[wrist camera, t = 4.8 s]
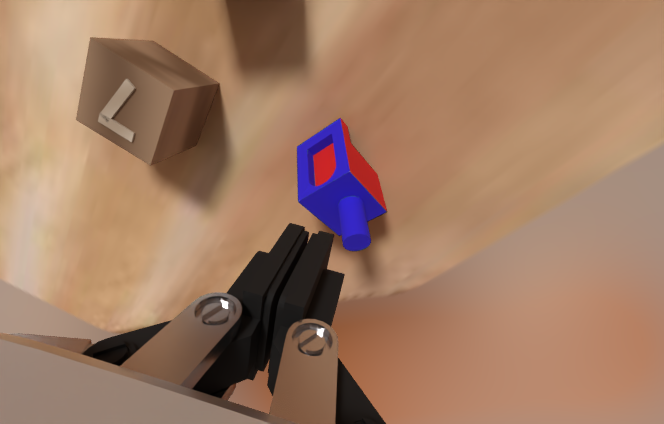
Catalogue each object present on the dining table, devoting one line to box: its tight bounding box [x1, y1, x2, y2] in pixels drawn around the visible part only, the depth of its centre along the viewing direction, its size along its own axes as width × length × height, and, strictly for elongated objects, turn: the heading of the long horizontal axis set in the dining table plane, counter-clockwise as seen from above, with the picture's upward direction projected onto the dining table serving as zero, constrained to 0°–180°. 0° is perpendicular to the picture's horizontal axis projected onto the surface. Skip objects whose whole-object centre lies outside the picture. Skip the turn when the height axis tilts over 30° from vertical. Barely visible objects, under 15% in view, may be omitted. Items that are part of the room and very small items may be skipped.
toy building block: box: [297, 118, 387, 251], centre depth 21 cm, size 4×4×8 cm
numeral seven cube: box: [76, 37, 219, 165], centre depth 21 cm, size 5×5×5 cm
